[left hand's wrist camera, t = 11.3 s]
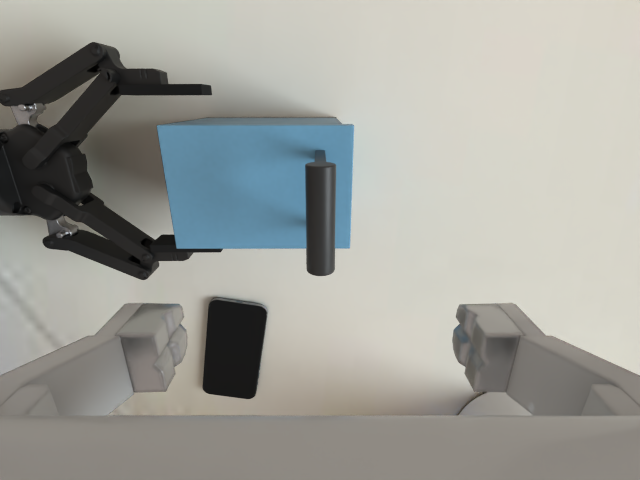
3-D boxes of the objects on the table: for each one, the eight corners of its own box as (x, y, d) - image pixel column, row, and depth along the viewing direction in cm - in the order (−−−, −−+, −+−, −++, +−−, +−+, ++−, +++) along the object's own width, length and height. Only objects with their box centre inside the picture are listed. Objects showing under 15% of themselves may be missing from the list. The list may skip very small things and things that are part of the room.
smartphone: (268, 307, 43) (255, 400, 48) (269, 304, 44) (255, 396, 49) (208, 298, 43) (201, 393, 48) (210, 295, 43) (203, 389, 49)
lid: (352, 124, 25) (368, 135, 17) (348, 242, 29) (360, 299, 21) (163, 124, 25) (88, 135, 17) (182, 243, 29) (127, 300, 21)
